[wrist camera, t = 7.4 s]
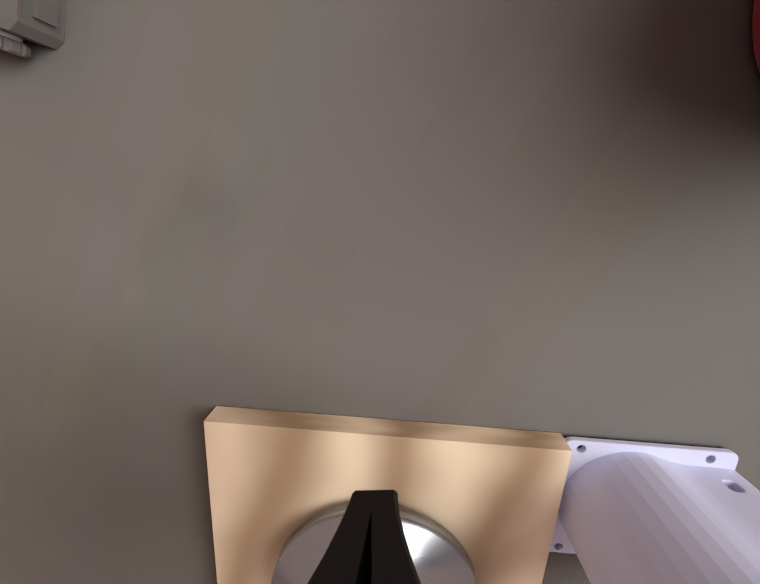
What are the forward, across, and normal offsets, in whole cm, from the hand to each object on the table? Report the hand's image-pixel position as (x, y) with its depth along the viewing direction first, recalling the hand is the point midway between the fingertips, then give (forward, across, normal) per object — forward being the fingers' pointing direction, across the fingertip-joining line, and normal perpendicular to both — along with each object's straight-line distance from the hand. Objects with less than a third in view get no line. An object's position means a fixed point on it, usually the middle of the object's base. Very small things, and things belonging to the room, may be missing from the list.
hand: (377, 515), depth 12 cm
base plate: (+9, +2, +13) cm, 16 cm away
